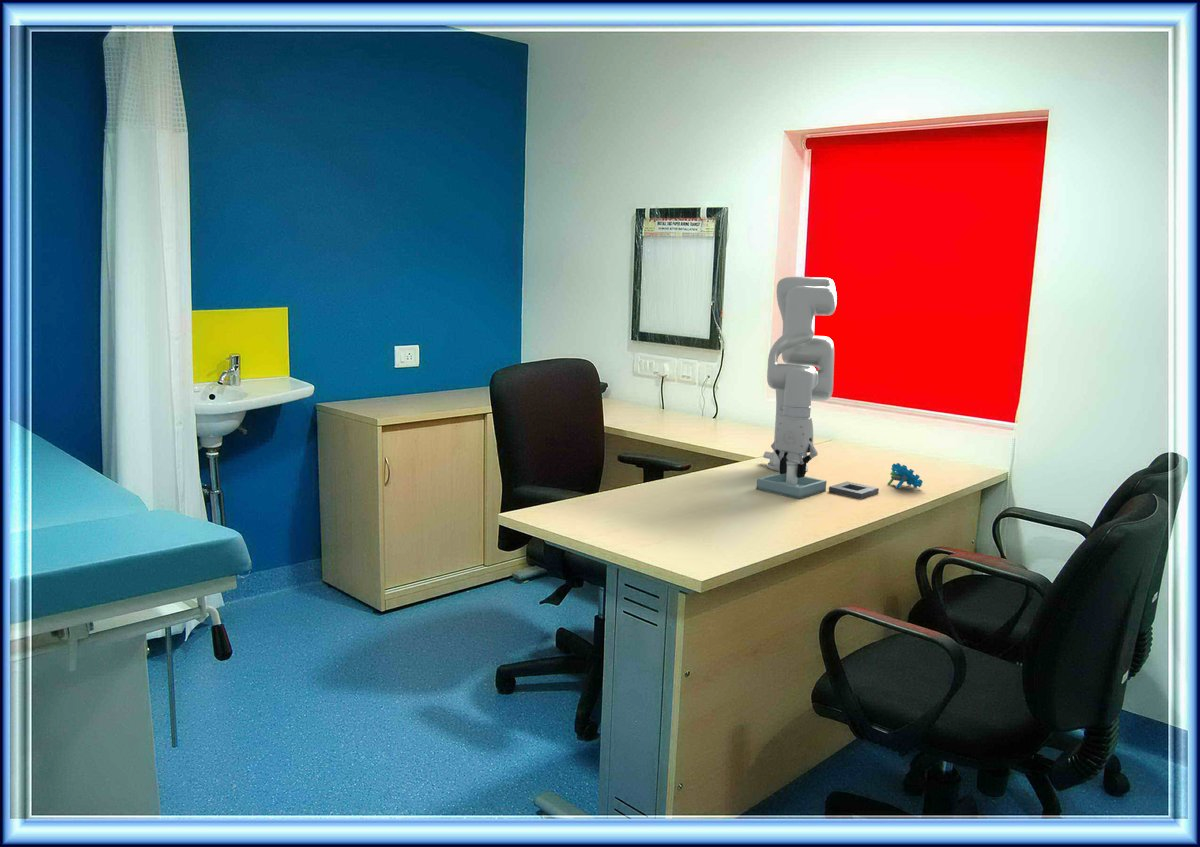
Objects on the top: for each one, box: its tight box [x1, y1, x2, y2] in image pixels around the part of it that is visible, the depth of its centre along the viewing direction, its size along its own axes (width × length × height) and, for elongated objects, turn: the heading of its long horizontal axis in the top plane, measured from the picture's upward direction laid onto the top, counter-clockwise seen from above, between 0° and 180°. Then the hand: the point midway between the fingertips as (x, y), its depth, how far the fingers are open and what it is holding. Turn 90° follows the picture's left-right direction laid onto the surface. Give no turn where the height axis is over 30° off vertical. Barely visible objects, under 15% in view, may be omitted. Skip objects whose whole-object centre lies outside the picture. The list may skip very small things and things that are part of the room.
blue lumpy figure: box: [887, 462, 924, 490], centre depth 262 cm, size 11×6×10 cm
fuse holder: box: [828, 481, 880, 500], centre depth 254 cm, size 10×10×2 cm
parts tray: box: [755, 472, 827, 500], centre depth 255 cm, size 14×14×3 cm
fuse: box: [786, 460, 799, 487], centre depth 254 cm, size 4×4×8 cm
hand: (792, 474), depth 254 cm, fingers open, 5 cm apart
